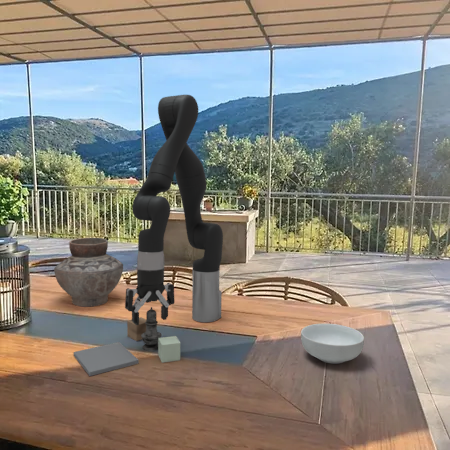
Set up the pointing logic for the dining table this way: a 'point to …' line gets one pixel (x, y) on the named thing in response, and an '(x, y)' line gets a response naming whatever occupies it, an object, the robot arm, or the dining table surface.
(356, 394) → the dining table surface
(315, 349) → the cereal bowl
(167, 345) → the sage block
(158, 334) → the salt shaker
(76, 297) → the ceramic pot
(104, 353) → the serving board
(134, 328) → the walnut block
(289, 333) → the dining table surface
